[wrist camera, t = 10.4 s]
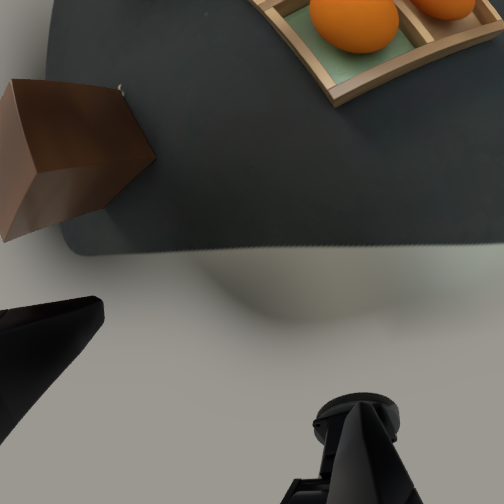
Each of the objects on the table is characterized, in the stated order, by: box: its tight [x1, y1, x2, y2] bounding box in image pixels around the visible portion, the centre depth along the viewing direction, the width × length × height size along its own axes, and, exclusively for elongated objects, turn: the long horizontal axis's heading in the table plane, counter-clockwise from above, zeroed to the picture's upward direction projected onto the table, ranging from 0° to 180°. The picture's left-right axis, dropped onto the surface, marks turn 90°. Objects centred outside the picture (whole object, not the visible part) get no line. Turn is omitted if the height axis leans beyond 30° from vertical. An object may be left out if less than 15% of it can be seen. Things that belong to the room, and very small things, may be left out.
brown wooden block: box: [0, 79, 156, 243], centre depth 15 cm, size 7×7×10 cm
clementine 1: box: [309, 0, 399, 53], centre depth 10 cm, size 5×5×5 cm
